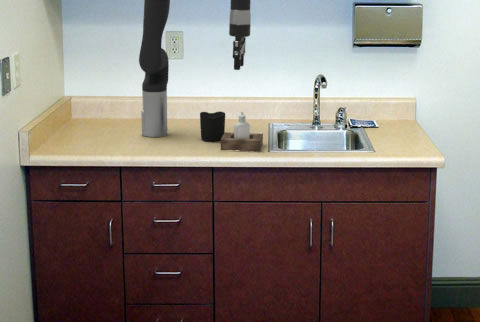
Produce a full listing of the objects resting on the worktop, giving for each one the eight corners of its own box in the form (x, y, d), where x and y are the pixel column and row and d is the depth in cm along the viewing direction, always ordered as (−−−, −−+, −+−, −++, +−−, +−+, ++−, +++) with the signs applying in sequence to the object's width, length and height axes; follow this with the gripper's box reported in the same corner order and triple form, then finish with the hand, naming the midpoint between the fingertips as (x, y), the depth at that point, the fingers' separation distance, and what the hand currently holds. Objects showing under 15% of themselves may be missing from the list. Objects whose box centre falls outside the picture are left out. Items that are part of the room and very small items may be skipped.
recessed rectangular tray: (220, 150, 275) (220, 139, 274) (224, 142, 285) (224, 132, 284) (259, 152, 273) (260, 141, 272) (262, 144, 284) (262, 133, 283)
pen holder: (210, 135, 297) (209, 109, 294) (230, 138, 292) (230, 112, 289) (195, 140, 289) (194, 113, 286) (215, 143, 284) (215, 117, 281)
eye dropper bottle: (250, 146, 277) (250, 113, 274) (234, 146, 277) (234, 113, 273) (249, 143, 281) (249, 110, 278) (233, 143, 281) (233, 110, 278)
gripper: (232, 20, 282) (231, 64, 287) (226, 24, 269) (225, 70, 273) (253, 21, 281) (251, 65, 286) (247, 24, 268) (246, 71, 272)
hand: (238, 67), depth 279 cm, fingers open, 8 cm apart
